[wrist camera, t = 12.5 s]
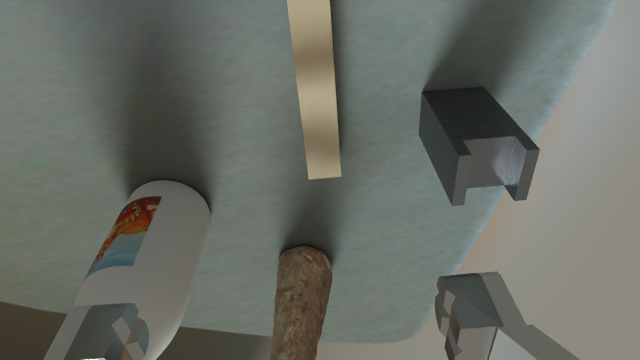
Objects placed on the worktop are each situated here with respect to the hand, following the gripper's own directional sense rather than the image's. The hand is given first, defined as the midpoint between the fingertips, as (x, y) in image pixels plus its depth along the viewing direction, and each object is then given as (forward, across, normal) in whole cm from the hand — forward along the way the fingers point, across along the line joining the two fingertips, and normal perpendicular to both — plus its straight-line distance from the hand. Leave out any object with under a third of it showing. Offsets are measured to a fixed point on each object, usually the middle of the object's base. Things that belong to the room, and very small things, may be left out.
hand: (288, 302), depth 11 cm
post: (+24, -12, +8) cm, 28 cm away
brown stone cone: (+24, +2, +24) cm, 34 cm away
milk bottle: (+24, +14, +15) cm, 32 cm away
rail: (+24, -1, +1) cm, 25 cm away
